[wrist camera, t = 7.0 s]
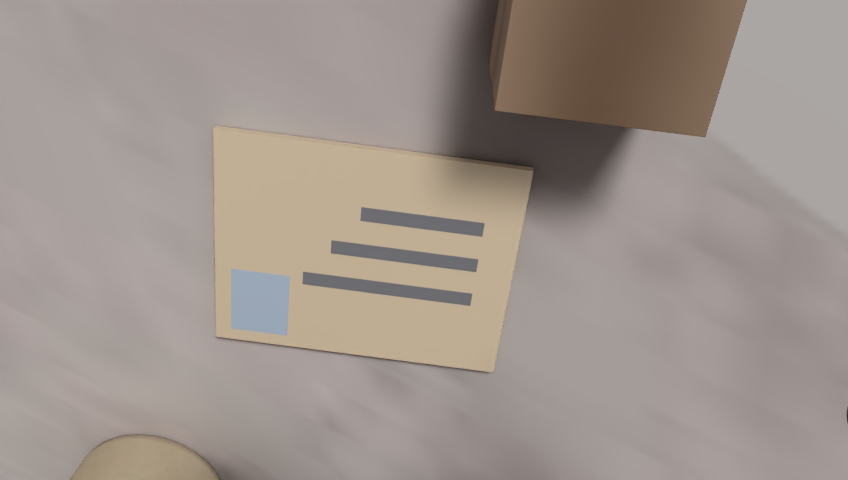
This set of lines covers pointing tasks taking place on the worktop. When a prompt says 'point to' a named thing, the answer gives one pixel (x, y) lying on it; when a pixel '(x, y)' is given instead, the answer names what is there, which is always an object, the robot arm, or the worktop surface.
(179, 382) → the worktop surface
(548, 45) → the block
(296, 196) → the letter
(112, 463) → the candle
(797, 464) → the worktop surface
